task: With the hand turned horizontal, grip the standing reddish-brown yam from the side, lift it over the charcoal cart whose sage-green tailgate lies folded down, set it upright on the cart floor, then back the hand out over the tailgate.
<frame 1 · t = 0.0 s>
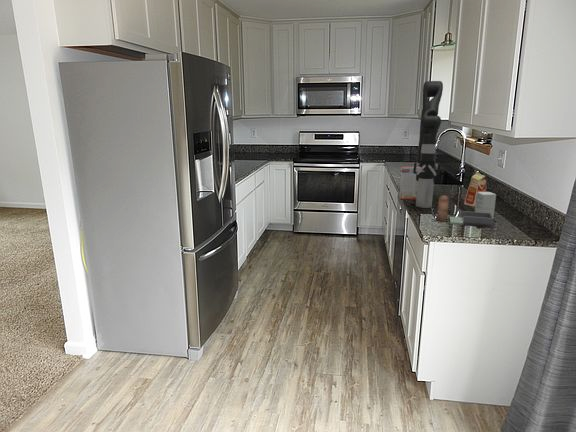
hand: (425, 181, 232), 17 cm above the worktop, tool pointing down, fingers open, 8 cm apart
cracker box: (410, 199, 269), on the worktop
yam: (441, 220, 217), on the worktop
milk carton: (475, 205, 252), on the worktop
cart bed: (477, 223, 211), on the worktop
supplement box: (483, 215, 227), on the worktop
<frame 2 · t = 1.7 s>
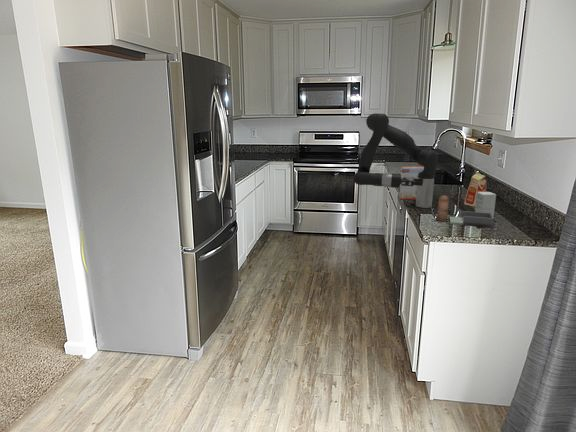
hand: (422, 182, 215), 20 cm above the worktop, tool horizontal, fingers open, 8 cm apart
nothing on the worktop moved.
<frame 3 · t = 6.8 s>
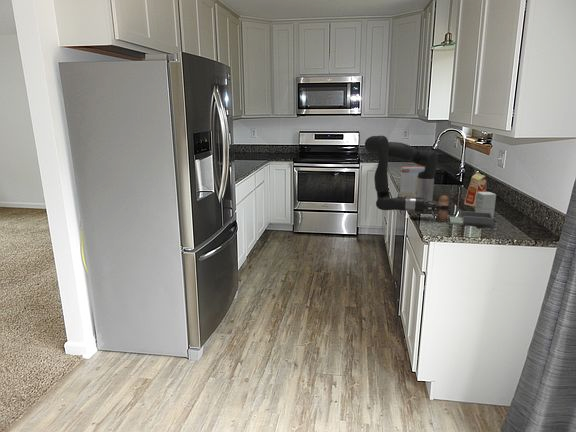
hand: (448, 206, 214), 8 cm above the worktop, tool horizontal, fingers closed on yam, 5 cm apart
yam: (441, 220, 217), on the worktop, touching gripper
everything else where it was.
when the fingers open (10 cm above the worktop, at t = 13.5 s): yam drops 1 cm, resting on cart bed.
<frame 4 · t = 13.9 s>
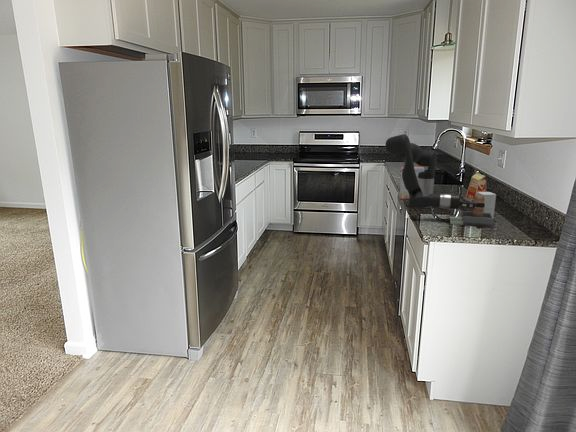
hand: (483, 203, 208), 11 cm above the worktop, tool horizontal, fingers open, 8 cm apart
yam: (477, 220, 211), point 2 cm above the worktop, touching cart bed
everything else where it was.
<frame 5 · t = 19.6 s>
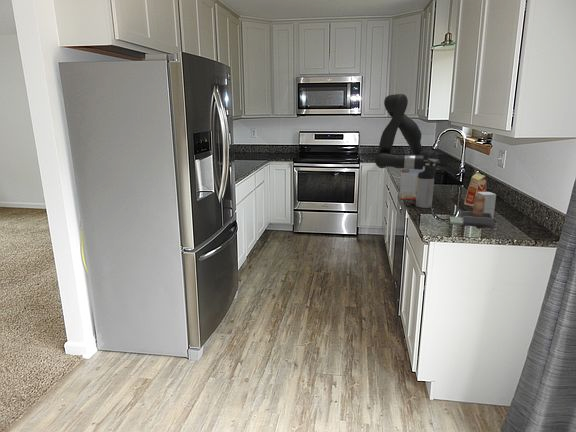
hand: (447, 163, 209), 30 cm above the worktop, tool horizontal, fingers open, 8 cm apart
nothing on the worktop moved.
at the end: yam inside the target area on the cart bed (0.4 cm from its centre), point 1.6 cm above the cart bed's base; yam tilted 2°; the gripper is holding nothing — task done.
